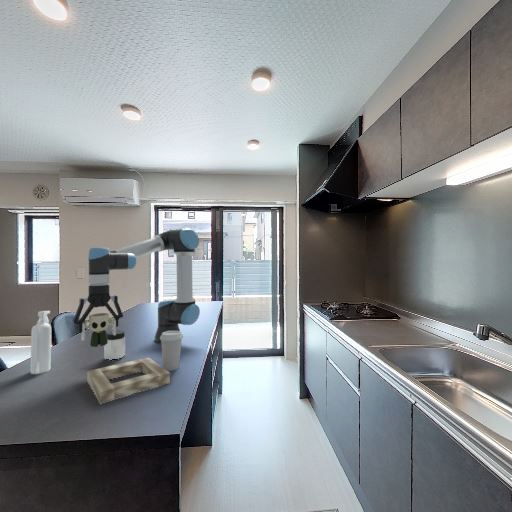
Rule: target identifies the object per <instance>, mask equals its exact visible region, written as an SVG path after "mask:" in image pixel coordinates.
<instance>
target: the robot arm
mask: <svg viewBox="0 0 512 512" xmlns="http://www.w3.org/2000/svg"><path fill="white" fill-rule="evenodd" d="M199 243H200V238H199V236H198V233H197V232H196V231H195V230H194V229H192V228H178V229H170V230H168V231H164V232H161V233H159V234H155V235H153V236H152V238H149V239H145V240H142V241H140V242H136V243H133V244H130V245H127V246H124V247H120V248H117V249H114V250H110V249H109V247H91V248H89V250H88V257H87V258H88V284H89V285H88V297H87V298H83V297H81V298H79V305H78V306H77V310H76V313H75V315H74V317H73V320H72V323H73V324H76V325H77V326H78V328H77V329H78V330H77V331H78V333H81V336H80V337H81V338H80V339H81V341H82V342H84V341H86V340H85V339H86V336H85V335H86V330H85V329H86V328H85V324H84V321H85V320H87V318H88V317H89V315H90V314H91V312H92V310H94V308H99V307H100V308H101V307H102V308H103V307H105V308H106V309H107V311H108V312H109V313H110V315H111V316H112V318H114V324H113V325H111V327H112V328H111V329H112V330H111V331H112V334H113V335H116V330H117V328H118V327H119V319H121V318H123V317H124V314H123V312H122V308H121V307H120V304H119V301H118V300H119V298H118V296H117V295H110V285H109V284H110V271H113V270H115V271H117V270H120V271H121V270H123V271H124V270H126V271H127V270H132V269H134V268H135V267H136V266H137V259H140V258H142V257H144V256H148V255H149V254H153V253H155V252H158V253H159V252H160V253H161V252H163V251H170V250H171V251H173V254H175V257H176V299H170V300H162V301H159V302H158V307H157V329H156V331H155V335H154V342H156V343H159V344H161V340H160V337H161V335H162V333H163V332H166V331H180V332H181V330H180V325H183V326H190V325H191V326H192V325H193V324H195V323H196V322H197V320H199V317H200V315H201V314H200V313H201V310H200V307H199V306H198V305H197V304H196V299H195V298H194V297H193V296H194V295H193V255H194V254H195V253H196V248H198V246H199ZM110 300H111V301H112V302H113V305H114V307H115V309H116V312H117V313H116V312H115V311H114V309H113V308H112V307H111V306H110V304H109V301H110ZM87 302H88V303H89V305H88V306H87V308H86V310H85V312H83V308H84V307H85V306H84V305H85V304H86V303H87ZM82 312H83V314H82ZM81 314H82V315H81Z"/></svg>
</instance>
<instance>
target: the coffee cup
mask: <svg viewBox="0 0 512 512" xmlns="http://www.w3.org/2000/svg"><path fill="white" fill-rule="evenodd" d="M183 337H184V336H183V334H182V332H181V330H180V331H166V332H163V333H162V335H161V337H160V340H161V343H160V344H161V345H160V346H161V356H162V368H164V369H165V370H167V371H168V372H170V371H175V370H177V369H179V367H180V361H181V360H180V358H181V350H182V349H181V348H182V339H183Z"/></svg>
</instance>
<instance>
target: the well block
mask: <svg viewBox="0 0 512 512" xmlns="http://www.w3.org/2000/svg"><path fill="white" fill-rule="evenodd" d="M141 371H143V372H144V373H145V374H146V375H145V374H144V373H143V372H141ZM137 372H139V373H143V375H139V376H136V377H132V378H128V379H124V380H122V381H121V380H120V381H117V382H114V383H111V382H110V380H109V379H112V380H114V379H113V378H116V379H118V378H117V377H120V378H122V377H121V376H124V377H126V376H125V375H128V376H130V375H129V374H132V375H134V374H133V373H136V374H138V373H137ZM86 373H87V374H86V375H87V377H86V379H87V380H86V382H87V384H88V386H89V385H90V386H89V388H90V389H91V391H92V390H93V391H92V392H94V393H93V394H94V396H95V395H96V396H95V397H97V398H96V399H98V400H99V401H98V400H97V401H98V403H99V402H100V403H103V402H107V401H110V400H113V399H116V398H119V397H123V396H126V395H130V394H133V393H136V392H139V391H143V390H146V389H150V388H153V389H155V388H154V387H156V388H159V387H158V386H160V387H162V385H163V386H166V385H169V383H170V382H171V381H170V376H171V375H170V373H171V372H170V371H167V370H165V369H164V368H163V366H161V365H160V364H159V363H157V362H156V361H154V360H153V359H151V358H150V357H145V358H139V359H136V360H135V359H134V360H131V361H126V362H122V363H117V364H113V365H108V366H105V367H100V368H96V369H92V370H87V372H86ZM165 384H166V385H165ZM150 390H151V389H150ZM143 392H144V391H143ZM133 395H134V394H133ZM130 396H131V395H130ZM110 402H111V401H110ZM100 403H99V404H100ZM107 403H108V402H107Z"/></svg>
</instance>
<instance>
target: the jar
mask: <svg viewBox="0 0 512 512" xmlns="http://www.w3.org/2000/svg"><path fill="white" fill-rule="evenodd" d="M106 334H107V340H108V343H107V344H106V345H103V346H104V347H103V348H104V351H103V352H104V355H103V359H104V360H106V359H109V360H108V361H110V360H112V359H118V360H120V359H119V358H122V357H123V356H124V355H125V356H126V335H125V334H126V333H125V330H123V329H122V330H117V329H116V335H113V334H112V330H110V331H106ZM125 356H124V357H125ZM124 357H123V358H124ZM123 358H122V359H123ZM112 361H113V360H112Z"/></svg>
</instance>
